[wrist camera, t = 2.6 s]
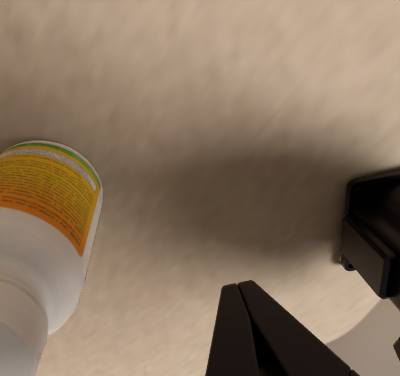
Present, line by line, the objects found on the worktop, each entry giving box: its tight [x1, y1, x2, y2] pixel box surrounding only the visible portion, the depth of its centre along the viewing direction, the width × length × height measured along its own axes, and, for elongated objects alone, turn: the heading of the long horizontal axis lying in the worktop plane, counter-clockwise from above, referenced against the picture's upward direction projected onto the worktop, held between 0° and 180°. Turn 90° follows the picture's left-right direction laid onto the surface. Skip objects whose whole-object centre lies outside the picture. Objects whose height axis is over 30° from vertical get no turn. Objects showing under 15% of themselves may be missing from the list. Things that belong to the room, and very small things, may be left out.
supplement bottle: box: [0, 140, 103, 376], centre depth 13 cm, size 5×5×10 cm
